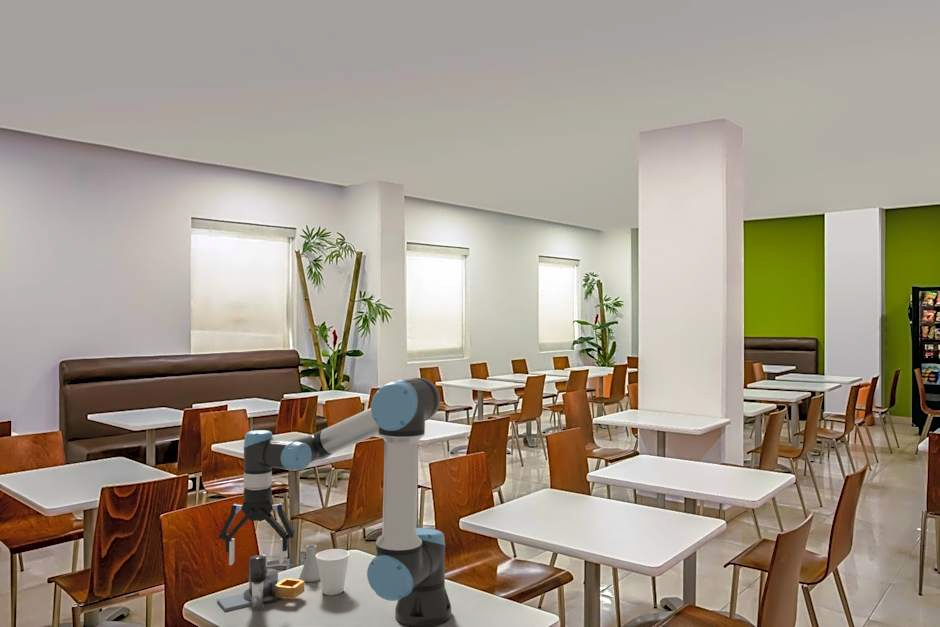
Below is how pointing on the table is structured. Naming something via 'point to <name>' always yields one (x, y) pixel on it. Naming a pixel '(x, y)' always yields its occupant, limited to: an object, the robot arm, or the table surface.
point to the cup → (332, 570)
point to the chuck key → (257, 579)
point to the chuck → (280, 585)
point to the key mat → (233, 602)
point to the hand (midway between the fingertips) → (256, 563)
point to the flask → (310, 566)
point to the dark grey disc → (266, 598)
